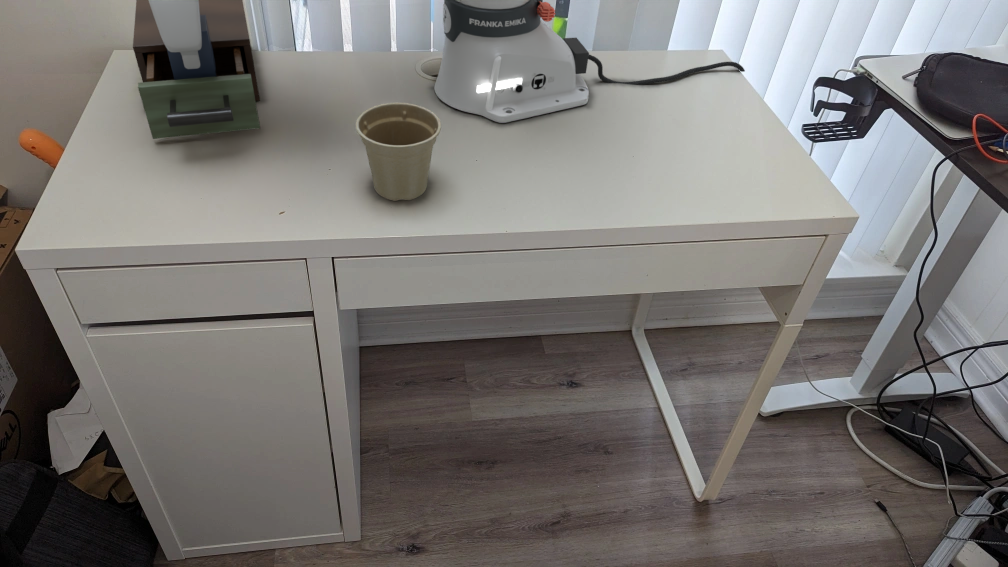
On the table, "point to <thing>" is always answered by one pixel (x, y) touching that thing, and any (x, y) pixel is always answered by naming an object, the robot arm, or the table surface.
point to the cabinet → (224, 25)
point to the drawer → (198, 97)
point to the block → (205, 56)
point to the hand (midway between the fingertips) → (192, 55)
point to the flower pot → (399, 147)
